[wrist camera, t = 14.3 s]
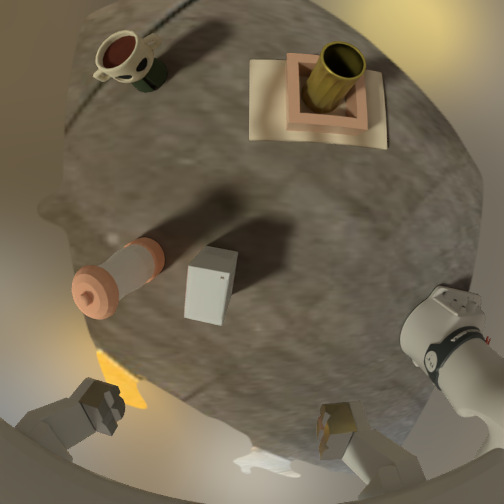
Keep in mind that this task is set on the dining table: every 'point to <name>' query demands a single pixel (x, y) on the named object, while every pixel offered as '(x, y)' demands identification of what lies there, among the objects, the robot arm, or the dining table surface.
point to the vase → (333, 76)
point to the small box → (210, 285)
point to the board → (308, 109)
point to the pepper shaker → (116, 277)
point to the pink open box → (319, 122)
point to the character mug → (130, 60)
